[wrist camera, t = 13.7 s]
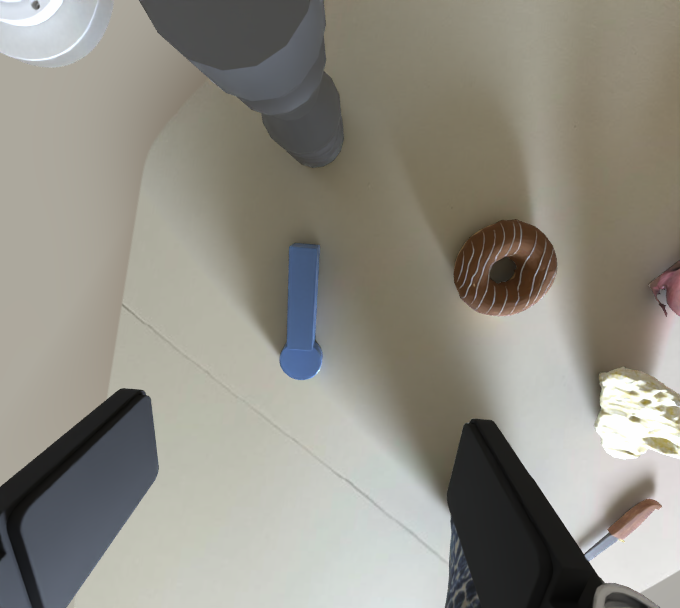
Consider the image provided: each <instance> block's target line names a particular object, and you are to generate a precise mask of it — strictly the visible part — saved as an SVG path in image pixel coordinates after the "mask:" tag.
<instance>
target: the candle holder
mask: <svg viewBox="0 0 680 608" xmlns="http://www.w3.org/2000/svg"><path fill="white" fill-rule="evenodd" d="M139 1H140V3H141V5H142V6H143V8H144V10H145V11H146V13H147V15H148V17H149V18H150V20H151V21H152V23H153V25H154V27H155V28H156V30H157V32H158V33H159V34H160V35H161V36H162V37H163V38H164V39H165V40H167V41H168V42H169V43H170V44H171V45H172V46H173V47H174V48H176V49H177V50H178V51H179V52H180V53H181V54H182V55H183V56H184V57H186V58H187V59H188V60H189V61H190V62H191V63H192V64H193V65H195V66H196V67H197V68H198V69H199V70H200V71H201V72H203V73H204V74H205V75H206V76H207V77H208V78H209V79H210V80H212V81H213V82H214V83H215V84H216V85H217V86H219V87H220V88H221V89H222V90H223V91H224V92H226V93H228V94H231V95H234V96H236V97H238V98H239V99H240V100H241V101H242V102H243V103H244V104H246V105H247V106H248V107H249V108H250V109H251V110H254V111H257V112H260V113H261V114H262V120H263V124H264V126H265V127H266V129H267V131H268V133H269V135H270V137H271V138H272V139H273V140H274V141H275V142H277V143H278V144H279V145H280V146H281V147H282V148H284V149H285V150H286V151H287V152H288V153H289V154H290V155H291V156H293V157H294V158H295V159H296V160H297V161H298V162H300V163H301V164H303V165H306V166H309V167H312V168H313V167H322V166H325V165H327V164H328V163H330V162H332V161H333V160H334V159H335V158H336V156H337V155H338V154H339V152H340V151H341V148H342V144H343V140H344V133H343V122H342V116H341V108H340V97H339V93H338V91H337V89H336V87H335V84H334V82H333V80H332V78H331V77H330V76H329V75H328V74H326V73H325V72H324V67H325V63H326V55H325V44H324V31H325V26H326V20H325V10H324V0H139Z"/></svg>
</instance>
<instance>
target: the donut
mask: <svg viewBox="0 0 680 608" xmlns="http://www.w3.org/2000/svg"><path fill="white" fill-rule="evenodd" d="M504 257H508V258H509V259H510V260H512V261H514V262H515V265H516V269H515V270H514V272H515V273H514V275H513V276H512V278H511V279H509V280H507V281H506V282H501V283H498V284H497V283H496V282H495V281H493V280H492V279H491V278H490V276H489V273H490V270H491V268H492V266H493V264H494V263H495V262H496V261H498V260H501V259H503V258H504ZM556 273H557V258H556V254H555V251H554V248H553V245H552V244H551V242H550V241H549V240H548V238H547V237H546V236H545V234H544V233H542V232H541V231H540V230H539V229H538V228H536V227H535V226H533V225H530V224H528V223H525V222H522V221H519V220H516V219H515V220H501V221H499V222H497V223H495V224H492V225H489V226H487V227H485V228H483V229H481V230H479V231H478V232H476V233H475V234H474V235H472V236H471V237H470V238H469V239H468V240H467V241H466V243H465V244H464V245H463V247H462V248H461V250H460V252H459V254H458V256H457V259H456V262H455V267H454V283H455V285H456V288H457V290H458V292H459V296H460V298H461V299H462V300H463V301H464V302H465V303H466V304H467V305H468V306H469V307H471V308H472V309H473V310H475V311H477V312H479V313H482V314H486V315H493V316H508V315H513V314H516V313H519V312H522V311H524V310H526V309H528V308H530V307H531V306H532V305H534V304H535V303H537V302H538V301H539V300H541V299H542V297H543V296H544V295H545V294H546V293H547V292H548V290H549V289H550V287H551V286H552V284H553V282H554V279H555V276H556Z"/></svg>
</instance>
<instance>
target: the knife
mask: <svg viewBox="0 0 680 608" xmlns="http://www.w3.org/2000/svg"><path fill="white" fill-rule="evenodd" d="M661 507H662V506H661V505H660V504H659V503H658V502H657V501H655V500H652V499H645V500H643V501H642V502H640V503H638V504H637V505H635V506H634V507H633V508H631V509H630V510H629V511H628V512H626V513H625V514H624V515H623V516H622V517H621V518H620V519H618V520H617V521H616V522H615V523H614V524H613V525H612V526H611V527H609V528H608V529H607V530H608V531H609V533H608V534H607V535H606V536H605V537H603V538H602V539H601V540H600V541H599V542H598V543H596V544H595V545H594V546H593V547H592V548H591V549H589V550H588V551H587V552H586V553H585V554H584V555H585V557H586V558H587V560H588V561H590V560H592V559H593V558H594V557H596V556H597V555H598V554H600V553H601V552H602V551H604V550H605V549H606V548H608V547H609V546H611V545H612V544H613V543H615V542H616V541H617V540H620V541H622V542H624V540H623V539H625V538H626V537H627V536H628V535H629V534H630V533H632V532H633V531H634V530H635V529H636V528H637V527H638V526H639V525H640V524H641V523H642V522H643V521H644V520H645V519H646V518H647V517H648V516H649V515H650V514H651V513H652V512H653V511H654V510H655V509H658V510H659V509H660V508H661Z"/></svg>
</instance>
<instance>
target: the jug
mask: <svg viewBox="0 0 680 608" xmlns="http://www.w3.org/2000/svg"><path fill="white" fill-rule="evenodd" d="M599 578H600V577H599ZM600 579H601V578H600ZM601 581H602V582H603V584H604V581H603V580H602V579H601ZM445 608H482V607H481V604H480V601H479V598H478V595H477V592H476V588H475V585H474V582H473V579H472V576H471V573H470V570H469V567H468V564H467V561H466V558H465V555H464V552H463V549H462V546H461V543H460V540H459V537H458V534H457V531H456V528H455V525H454V522H453V519H452V516H451V544H450V556H449V583H448V592H447V598H446V604H445Z"/></svg>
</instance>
